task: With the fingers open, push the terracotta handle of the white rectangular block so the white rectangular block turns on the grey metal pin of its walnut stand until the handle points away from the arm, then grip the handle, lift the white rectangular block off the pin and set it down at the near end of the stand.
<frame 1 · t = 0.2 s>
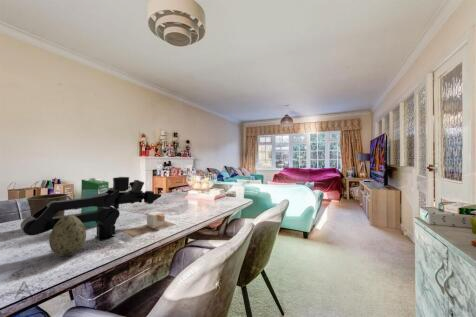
hand: (156, 194, 118), 16 cm above the table, tool horizontal, fingers open, 9 cm apart
white rectangular block: (155, 225, 112), point 1 cm above the table, touching walnut stand
milk carton: (95, 224, 117), on the table
plant pot: (48, 227, 112), on the table
decorative egg: (68, 255, 80), on the table, touching arm
walnut stand: (150, 229, 109), on the table
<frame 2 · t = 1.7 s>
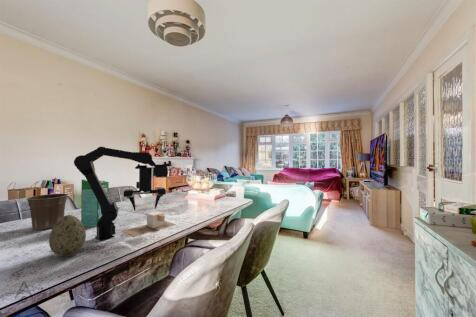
hand: (145, 209, 105), 11 cm above the table, tool pointing down, fingers open, 9 cm apart
decorative egg: (68, 255, 80), on the table
everything else where it was.
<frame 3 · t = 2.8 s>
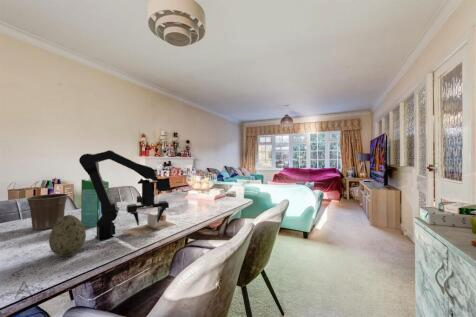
hand: (148, 223, 105), 4 cm above the table, tool pointing down, fingers open, 9 cm apart
white rectangular block: (155, 225, 113), point 1 cm above the table, touching gripper
everything else where it was.
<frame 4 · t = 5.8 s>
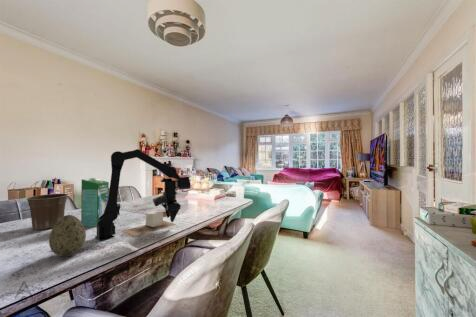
hand: (170, 219, 113), 4 cm above the table, tool pointing down, fingers open, 9 cm apart
white rectangular block: (153, 225, 112), point 1 cm above the table, touching gripper, walnut stand
everything else where it was.
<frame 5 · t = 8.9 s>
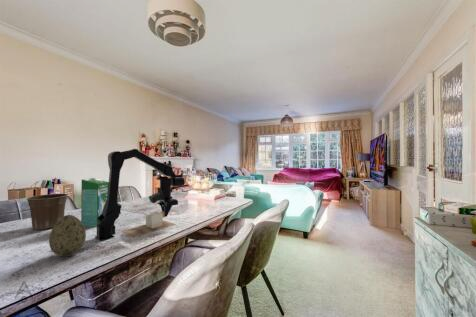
hand: (165, 215, 117), 5 cm above the table, tool pointing down, fingers closed on white rectangular block
white rectangular block: (154, 225, 112), point 1 cm above the table, touching gripper, walnut stand
everything else where it was.
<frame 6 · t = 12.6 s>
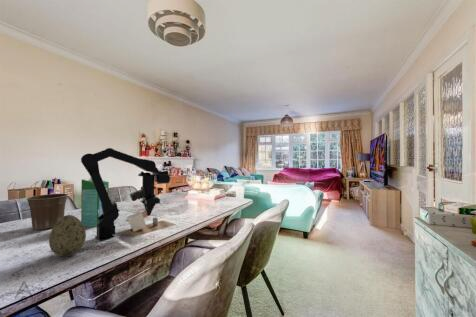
hand: (148, 215, 109), 7 cm above the table, tool pointing down, fingers closed on white rectangular block
white rectangular block: (138, 227, 106), point 2 cm above the table, tilted 18°, touching gripper, walnut stand
everything else where it was.
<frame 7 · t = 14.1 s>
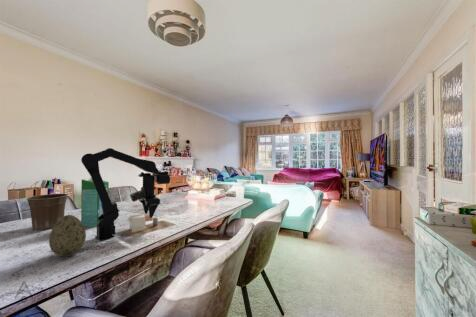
hand: (148, 215, 109), 7 cm above the table, tool pointing down, fingers open, 9 cm apart
white rectangular block: (137, 229, 106), point 1 cm above the table, touching walnut stand
everything else where it was.
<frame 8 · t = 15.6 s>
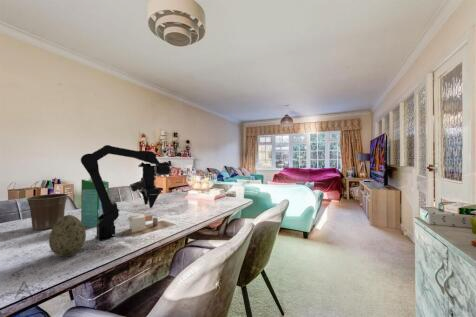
hand: (148, 206, 109), 12 cm above the table, tool pointing down, fingers open, 9 cm apart
nothing on the table moved.
at the end: white rectangular block inside the target area (1.6 cm from its centre), point 1.0 cm above the table; white rectangular block tilted 0°; the gripper is holding nothing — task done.
